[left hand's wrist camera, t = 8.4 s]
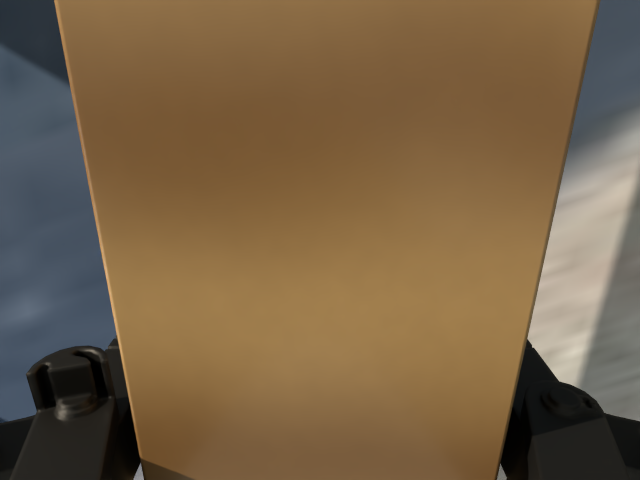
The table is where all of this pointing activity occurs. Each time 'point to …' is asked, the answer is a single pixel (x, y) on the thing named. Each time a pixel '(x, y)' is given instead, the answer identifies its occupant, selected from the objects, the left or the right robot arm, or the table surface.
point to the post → (324, 222)
